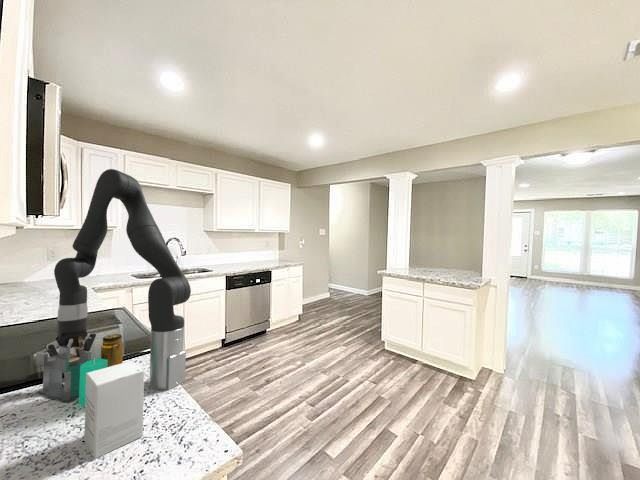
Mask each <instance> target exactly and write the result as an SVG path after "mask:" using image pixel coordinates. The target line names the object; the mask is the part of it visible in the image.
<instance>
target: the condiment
mask: <svg viewBox="0 0 640 480" xmlns="http://www.w3.org/2000/svg"><path fill="white" fill-rule="evenodd" d="M122 337H123V336H122V334H120V333H119V334H118V333H115V334H114V333H113V334H109V335H106V336H105V335H104V337H103V338H102V345H101V346H100V347H101V348H100V352H101V353H100V359H105V360H108V362H107V367H110V366H114V365H118V364H121V363H124V362H123V358H124V357H123V356H124V355H123V354H124V352H123V351H124V343H123V338H122Z"/></svg>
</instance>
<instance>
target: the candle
mask: <svg viewBox="0 0 640 480" xmlns="http://www.w3.org/2000/svg"><path fill="white" fill-rule="evenodd" d="M93 357H94V358H93V359H91V360H90V361H87V362H85V363H83V364H82V365H81V366H80V386H79V398H78V406H80V407H81V408H85V397H86V373H88V372H92V371H96V370H99V369H103V368H107V362H108V360H105V359H101V357H100V358H95V356H93Z"/></svg>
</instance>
